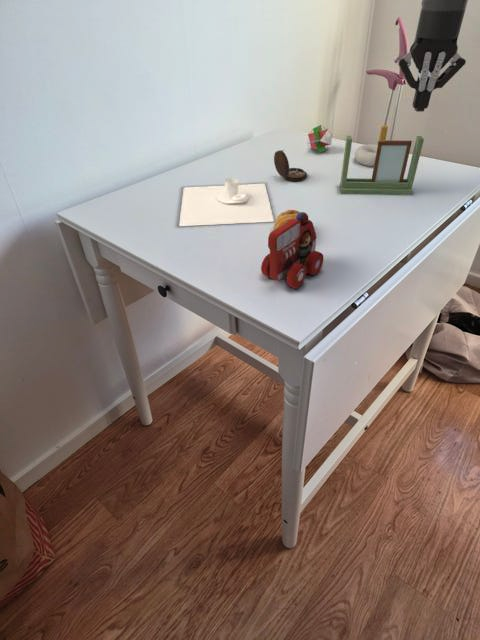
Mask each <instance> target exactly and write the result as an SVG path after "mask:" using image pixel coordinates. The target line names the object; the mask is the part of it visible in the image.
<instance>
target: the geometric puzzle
mask: <svg viewBox="0 0 480 640" xmlns="http://www.w3.org/2000/svg"><path fill="white" fill-rule="evenodd" d="M322 127H323V128H325V126H324V125H322V124H320V125H318V126H316V127H313V128H312V130H310V132H309V133H307V137H308V139H307V141H306V142H307V143H306V145H307V146H308V147H310V149H311V150H315V149H316V151H317V154H318V155H319V154H320V153H322V152H325V151H326V150H327V149H328V148H329V147H330V146H332V143H333V135H332V133H331V131H330V130H329V128H325V129H323V128H322Z"/></svg>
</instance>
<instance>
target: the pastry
mask: <svg viewBox="0 0 480 640" xmlns="http://www.w3.org/2000/svg"><path fill="white" fill-rule="evenodd" d="M300 212H301V211H298V210H296V209H287V210H285V211H281V213H279V214H278V215H277V216H276V218H275V219H274V225H273V230H275V229H277V228H278V227H280V226H282V225H283V224H285V223H286V222H288V221H289V220H291V219H296V216H297V215H298V214H299V213H300Z"/></svg>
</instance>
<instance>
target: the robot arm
mask: <svg viewBox="0 0 480 640" xmlns="http://www.w3.org/2000/svg"><path fill="white" fill-rule="evenodd" d="M468 1H469V0H421V8H420V13H419V17H418V22H417V27H416V32H415V35H414V36H415V37H414V41H413V43H412V44H411V46H410V48H409V52H406V54H405V55H403V56H402V57H401V56H399V57H398V58H397V59H396V63H397V65H398V68H399V69H400V71H401V73H402V75H403V78H404V79H405V81H406V83H407V85H408V87H410V88H411V89H414V90H415V91H414V95H413V100H412V107H413V109H414V111H415V112H419V113H420V112H421V113H422V112H425V109H427V108H428V107H429V105H430V100H431V96H432V93H433V92H434V90H436V89H442V88H443V87H445V85H446V84H447V83H448V82H449V81H451V79H452V78H453V77H454V76H455V75H456V74H457V73H459V71H460V70H461V69H462V68H463V67H464V66H465V65H466V63H467V61H466V59H465V58H463V57H462V56H461V55H460V54H459V52H458V49H459V46H458V39H459V35H460V30H461V28H462V24H463V20H464V16H465V13H466V9H467V5H468ZM412 61H413V63H414V66H415V68H416V69H417V73H416V79H415V78H414V75H413V73H412V71H411V69H410V67H411V65H412ZM447 64H449V65H448V67H446V68H445V69H444V67H445V66H446V65H447ZM442 69H444V71H442V73H441V70H442ZM440 73H441V74H440Z"/></svg>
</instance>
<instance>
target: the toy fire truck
mask: <svg viewBox="0 0 480 640" xmlns="http://www.w3.org/2000/svg"><path fill="white" fill-rule="evenodd" d="M299 212H300V213H299V214H298V215H297V216H296V219H291V220H289V221H288V222H286V223H285V224H283V225H282V226H280V227H278V228H277V229H273V230H272V231H270V232H269V234H268V237H267V248H268V249H269V253H267V255H265V257H264V258H263V260H262V263H261V267H260V271H261V274H262V275H263V276H264V277H268V278H269V279H272V280H274V281H281V280H282V279H286V284H287V286H288V287H290V288H292V289H298V288H300V287H301V286H302V284H303V283H304V282H305V279H306V276H307V274H308V275H311V276H315V275H317V274H318V273H319V272H320V271H321V269H322V267H323V264H324V259H325V258H324V254H323V253H322V252H320V251H318V250H316V246H317V245H316V244H317V233H316V230H315V226H314V223H313V221H312V220H310V219H309V214H307V212H304V211H299Z"/></svg>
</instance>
